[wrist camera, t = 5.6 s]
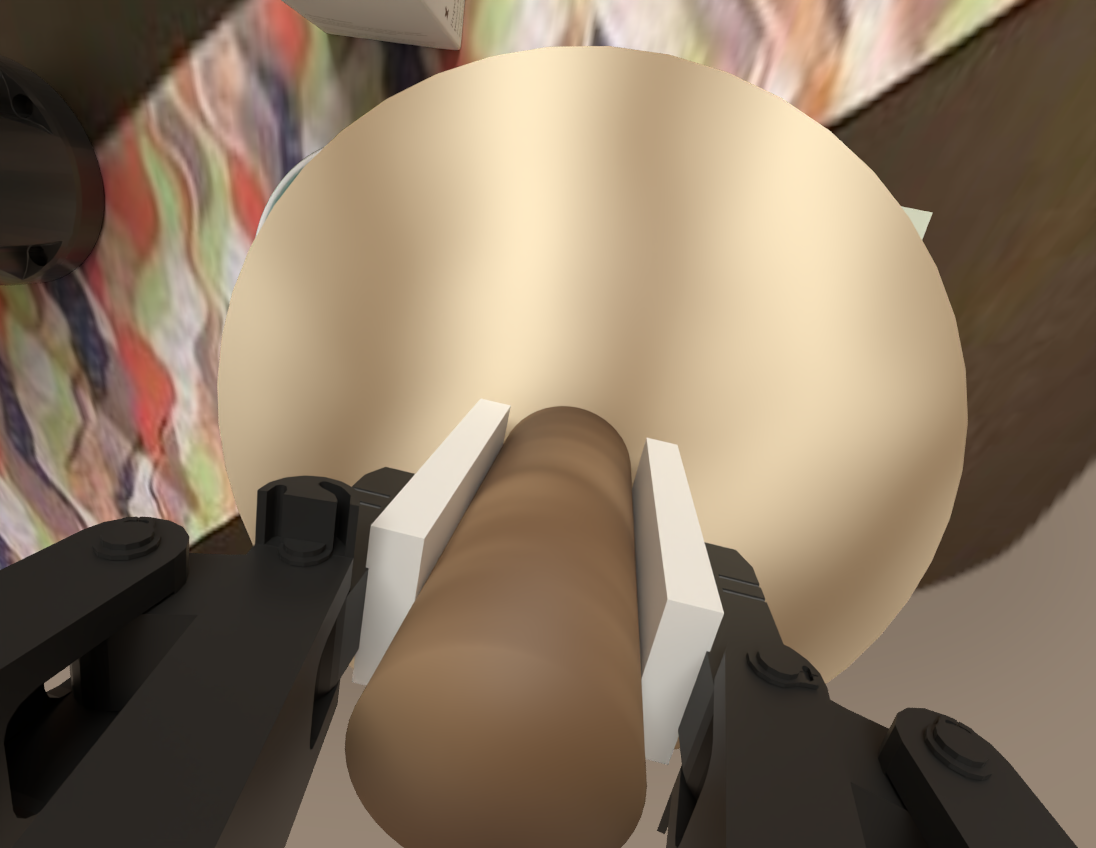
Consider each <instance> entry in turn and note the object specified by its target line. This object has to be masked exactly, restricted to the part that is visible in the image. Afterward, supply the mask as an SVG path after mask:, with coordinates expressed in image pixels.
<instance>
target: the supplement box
mask: <svg viewBox="0 0 1096 848" xmlns="http://www.w3.org/2000/svg"><path fill="white" fill-rule="evenodd" d="M282 1H283V2H284V3H286V4H287V5H288V6H290V7H291V8H293V9H294V10H295V11H297V12H298V13H300V14H301V15H302V16H304V17H305V18H306V19H308V20H309V21H310V22H312V23H313V24H315V25H316V26H317V27H319V28H320V29H321V30H323V31H324V32H326V33H328V34H335V35H342V36H350V37H357V38H364V39H372V40H379V41H387V42H394V43H402V44H409V45H417V46H424V47H431V48H439V49H448V50H459V49H460V48H461V39H462V28H463V16H464V4H465V0H282Z"/></svg>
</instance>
